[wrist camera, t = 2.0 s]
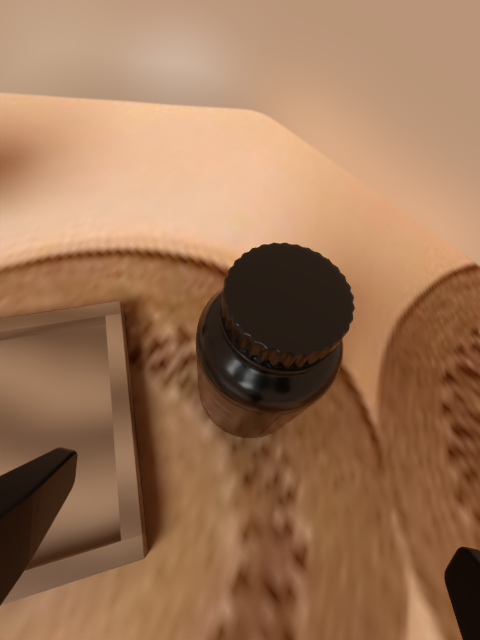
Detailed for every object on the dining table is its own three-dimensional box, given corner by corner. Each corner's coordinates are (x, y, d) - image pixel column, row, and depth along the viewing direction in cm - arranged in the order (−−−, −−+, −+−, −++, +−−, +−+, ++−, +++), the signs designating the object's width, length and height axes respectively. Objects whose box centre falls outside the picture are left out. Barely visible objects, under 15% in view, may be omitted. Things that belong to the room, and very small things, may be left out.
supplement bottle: (261, 327, 24) (312, 202, 13) (314, 406, 21) (427, 329, 11) (179, 368, 22) (162, 255, 11) (228, 461, 19) (265, 431, 9)
